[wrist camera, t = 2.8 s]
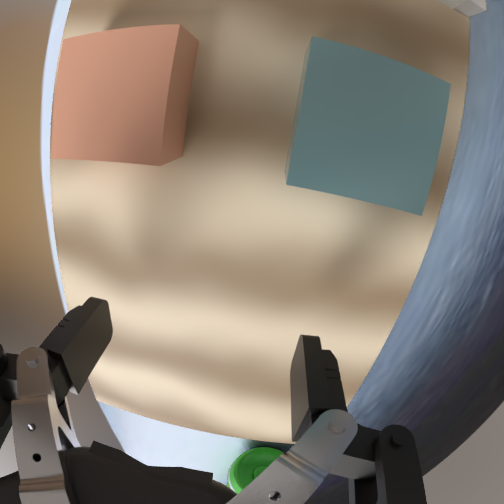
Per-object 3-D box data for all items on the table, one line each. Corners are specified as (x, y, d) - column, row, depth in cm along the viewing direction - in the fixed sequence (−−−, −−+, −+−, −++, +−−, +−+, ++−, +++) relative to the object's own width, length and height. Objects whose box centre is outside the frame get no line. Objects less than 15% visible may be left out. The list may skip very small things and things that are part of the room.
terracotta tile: (96, 47, 9) (63, 39, 7) (198, 41, 9) (180, 24, 7) (84, 149, 12) (51, 158, 9) (182, 156, 12) (160, 166, 9)
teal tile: (305, 52, 9) (312, 36, 7) (420, 87, 9) (450, 83, 7) (284, 171, 12) (285, 184, 9) (397, 197, 12) (421, 216, 9)
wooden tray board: (111, -10, 10) (80, -28, 7) (438, 31, 10) (469, 18, 7) (111, 372, 23) (96, 400, 20) (317, 413, 23) (319, 445, 20)
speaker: (233, 437, 27) (224, 498, 20) (301, 444, 26) (302, 504, 20) (224, 484, 34) (217, 525, 27) (271, 489, 34) (269, 530, 27)
